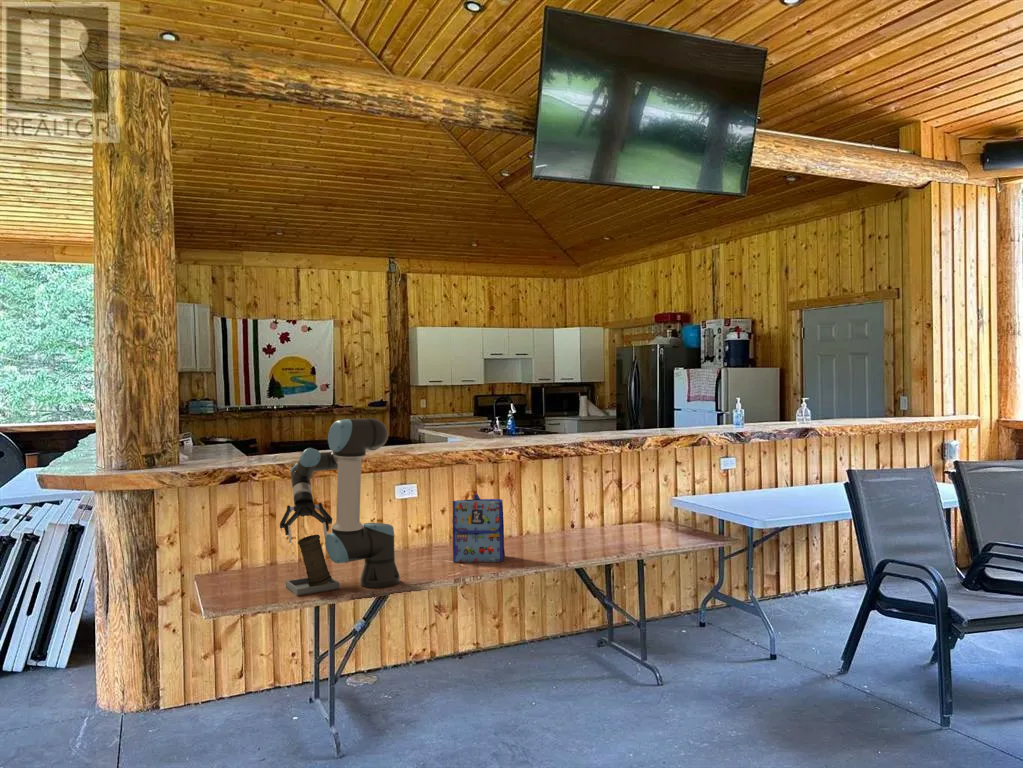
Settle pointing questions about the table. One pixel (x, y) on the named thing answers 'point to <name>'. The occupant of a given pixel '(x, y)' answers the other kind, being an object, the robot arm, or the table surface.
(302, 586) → the tray
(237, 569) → the table surface
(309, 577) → the container
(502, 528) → the lunch bag
